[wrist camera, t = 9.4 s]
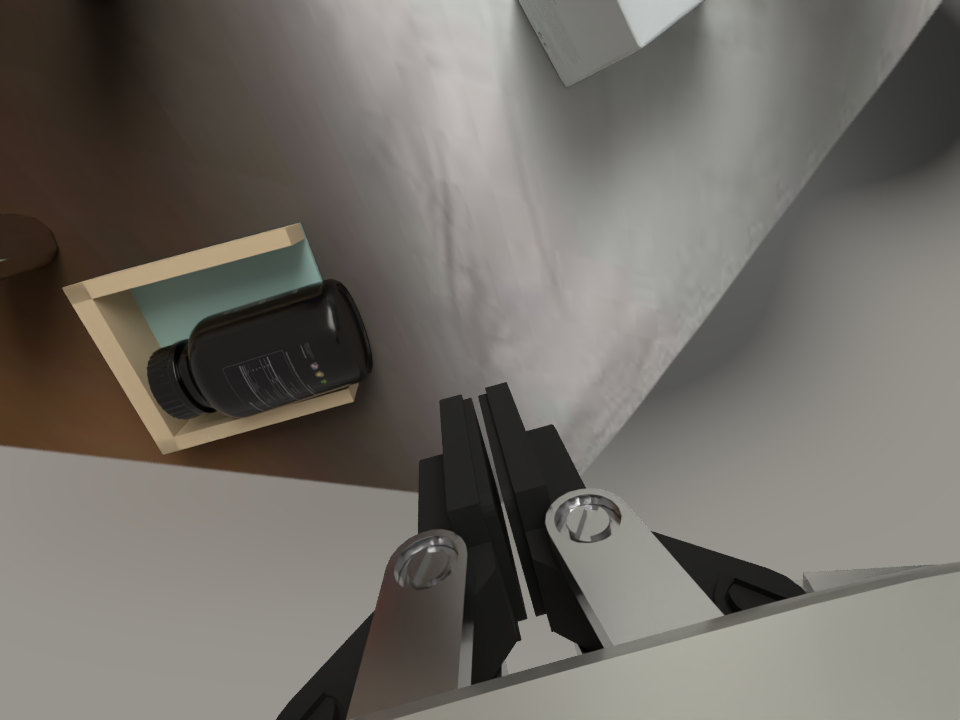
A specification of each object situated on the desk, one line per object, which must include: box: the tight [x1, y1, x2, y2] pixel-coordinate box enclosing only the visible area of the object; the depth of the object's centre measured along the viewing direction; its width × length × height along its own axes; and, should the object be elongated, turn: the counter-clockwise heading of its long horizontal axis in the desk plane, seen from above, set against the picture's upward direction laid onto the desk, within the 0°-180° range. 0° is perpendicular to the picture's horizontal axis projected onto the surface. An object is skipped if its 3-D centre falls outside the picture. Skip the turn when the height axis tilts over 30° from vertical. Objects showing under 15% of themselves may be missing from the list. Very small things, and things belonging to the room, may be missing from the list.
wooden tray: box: [62, 223, 359, 455], centre depth 31 cm, size 13×12×4 cm
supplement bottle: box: [147, 279, 373, 420], centre depth 29 cm, size 7×7×12 cm
